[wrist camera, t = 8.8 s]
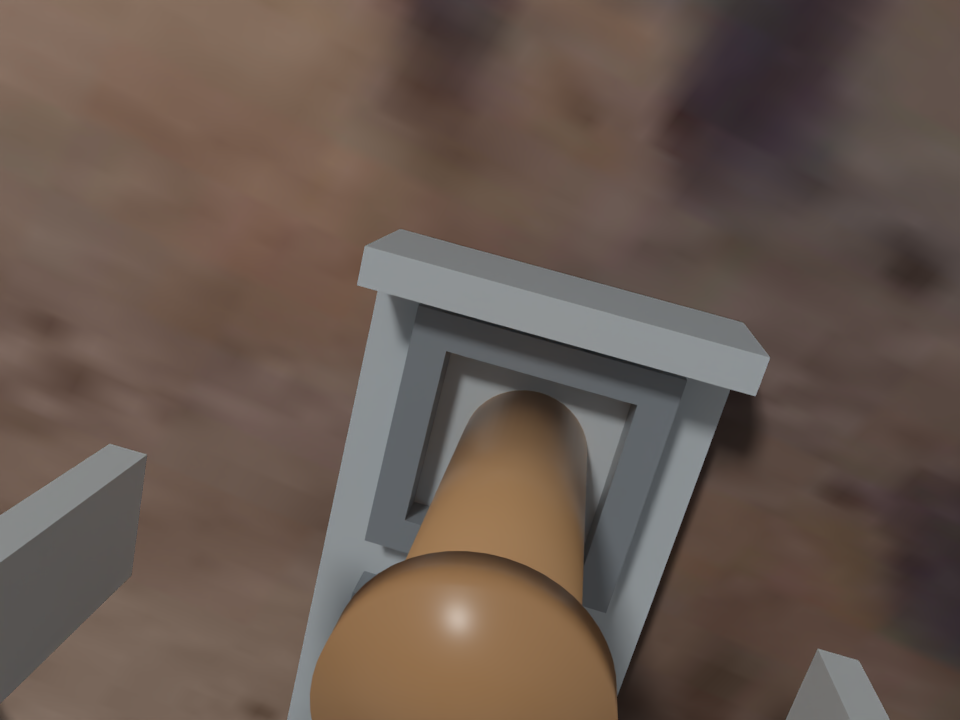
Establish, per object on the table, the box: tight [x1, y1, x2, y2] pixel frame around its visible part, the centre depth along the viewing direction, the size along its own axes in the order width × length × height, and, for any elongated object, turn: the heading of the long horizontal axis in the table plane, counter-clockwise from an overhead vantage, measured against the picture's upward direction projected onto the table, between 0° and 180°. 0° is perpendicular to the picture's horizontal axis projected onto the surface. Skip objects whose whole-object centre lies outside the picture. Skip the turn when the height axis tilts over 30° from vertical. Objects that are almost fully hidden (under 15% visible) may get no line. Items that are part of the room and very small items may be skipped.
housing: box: [287, 229, 770, 720], centre depth 23 cm, size 10×19×4 cm, turn 166°
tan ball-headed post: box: [310, 390, 618, 720], centre depth 17 cm, size 5×5×11 cm
